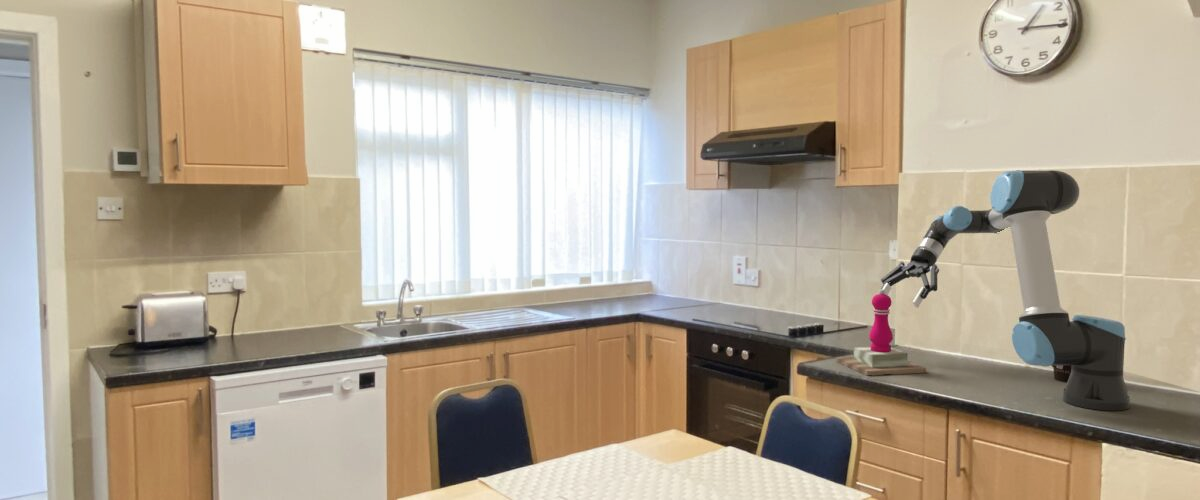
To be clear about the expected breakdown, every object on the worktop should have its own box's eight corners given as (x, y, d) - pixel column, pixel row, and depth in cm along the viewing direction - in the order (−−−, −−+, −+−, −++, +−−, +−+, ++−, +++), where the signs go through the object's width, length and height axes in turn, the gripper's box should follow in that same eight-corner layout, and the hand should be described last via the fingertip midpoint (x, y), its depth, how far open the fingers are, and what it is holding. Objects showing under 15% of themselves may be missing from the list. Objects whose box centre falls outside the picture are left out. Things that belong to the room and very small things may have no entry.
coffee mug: (1090, 383, 224) (1091, 350, 223) (1060, 383, 224) (1061, 350, 224) (1066, 374, 236) (1068, 342, 235) (1038, 374, 236) (1039, 342, 235)
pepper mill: (864, 348, 250) (866, 288, 248) (885, 347, 251) (887, 287, 249) (875, 353, 243) (876, 290, 241) (896, 352, 243) (898, 290, 242)
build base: (925, 372, 239) (926, 355, 238) (866, 375, 236) (867, 358, 235) (891, 359, 259) (891, 343, 258) (836, 361, 255) (836, 345, 255)
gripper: (965, 264, 248) (936, 314, 241) (899, 259, 269) (870, 305, 262) (956, 249, 245) (925, 299, 238) (890, 245, 266) (860, 291, 259)
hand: (897, 302), depth 250 cm, fingers open, 13 cm apart
